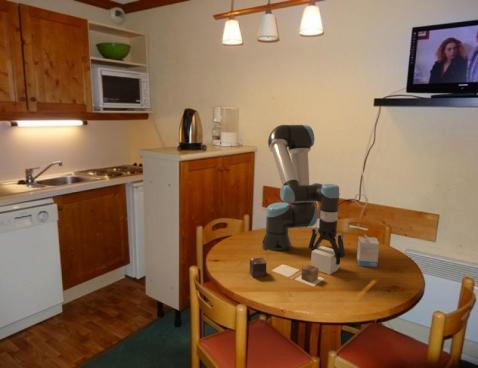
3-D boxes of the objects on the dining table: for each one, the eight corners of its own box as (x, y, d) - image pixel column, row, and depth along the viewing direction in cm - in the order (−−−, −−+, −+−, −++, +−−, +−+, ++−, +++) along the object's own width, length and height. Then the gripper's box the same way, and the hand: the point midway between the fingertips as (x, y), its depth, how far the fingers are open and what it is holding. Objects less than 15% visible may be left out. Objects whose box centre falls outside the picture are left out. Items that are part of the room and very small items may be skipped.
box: (266, 279, 147) (266, 263, 146) (252, 280, 146) (253, 264, 145) (262, 272, 153) (262, 257, 152) (249, 274, 152) (249, 258, 150)
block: (301, 279, 145) (301, 268, 144) (307, 275, 149) (307, 264, 148) (311, 283, 142) (312, 271, 141) (317, 278, 146) (318, 267, 145)
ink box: (377, 267, 160) (380, 240, 157) (358, 265, 161) (361, 238, 159) (374, 260, 168) (376, 233, 165) (356, 258, 170) (358, 232, 167)
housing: (310, 268, 155) (311, 251, 154) (320, 261, 162) (321, 245, 161) (329, 274, 149) (331, 257, 148) (339, 267, 156) (340, 251, 155)
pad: (271, 271, 153) (271, 270, 153) (282, 264, 159) (282, 264, 159) (288, 277, 147) (288, 277, 147) (299, 270, 154) (299, 270, 154)
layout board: (268, 273, 152) (268, 271, 152) (285, 263, 162) (285, 261, 162) (312, 290, 138) (313, 288, 138) (329, 278, 148) (329, 276, 148)
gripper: (302, 216, 155) (299, 262, 160) (348, 227, 141) (344, 277, 146) (310, 212, 161) (307, 258, 166) (356, 223, 147) (352, 271, 152)
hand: (325, 267), depth 156 cm, fingers closed on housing, 9 cm apart
